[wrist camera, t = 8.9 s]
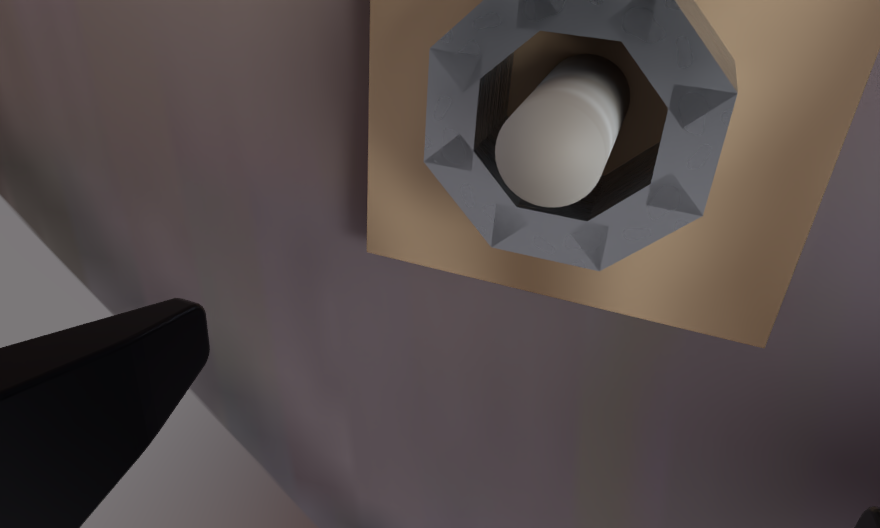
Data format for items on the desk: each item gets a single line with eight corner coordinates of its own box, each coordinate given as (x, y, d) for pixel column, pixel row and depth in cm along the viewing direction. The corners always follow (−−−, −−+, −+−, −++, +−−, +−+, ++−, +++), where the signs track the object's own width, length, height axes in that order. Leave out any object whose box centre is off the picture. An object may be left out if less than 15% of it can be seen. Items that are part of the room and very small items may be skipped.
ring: (759, -27, 15) (767, -10, 12) (687, 234, 18) (682, 290, 16) (477, -56, 16) (434, -46, 14) (457, 188, 20) (420, 231, 17)
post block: (945, -163, 14) (1063, -189, 9) (762, 325, 20) (775, 462, 15) (393, -194, 17) (266, -225, 12) (381, 236, 23) (294, 326, 18)
